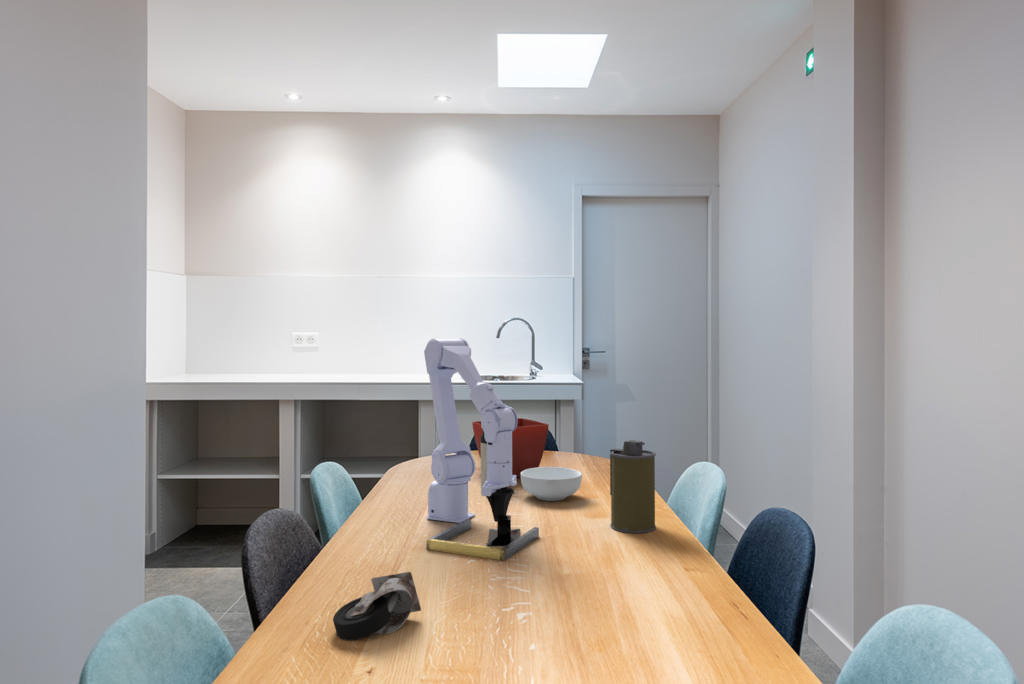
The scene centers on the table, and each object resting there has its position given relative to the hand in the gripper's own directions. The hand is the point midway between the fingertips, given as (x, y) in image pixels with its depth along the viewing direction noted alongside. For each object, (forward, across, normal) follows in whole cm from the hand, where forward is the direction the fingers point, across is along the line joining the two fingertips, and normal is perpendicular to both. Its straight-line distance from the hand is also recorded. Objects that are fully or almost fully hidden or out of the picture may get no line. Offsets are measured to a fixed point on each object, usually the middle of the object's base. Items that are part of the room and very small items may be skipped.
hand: (499, 521), depth 153 cm
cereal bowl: (+3, +37, +2) cm, 37 cm away
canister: (+3, +17, -26) cm, 31 cm away
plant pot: (+3, +62, +26) cm, 67 cm away
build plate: (+3, -3, -2) cm, 5 cm away
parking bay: (+3, -7, 0) cm, 7 cm away
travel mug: (+3, +44, +23) cm, 50 cm away
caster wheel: (+3, -54, -4) cm, 54 cm away
